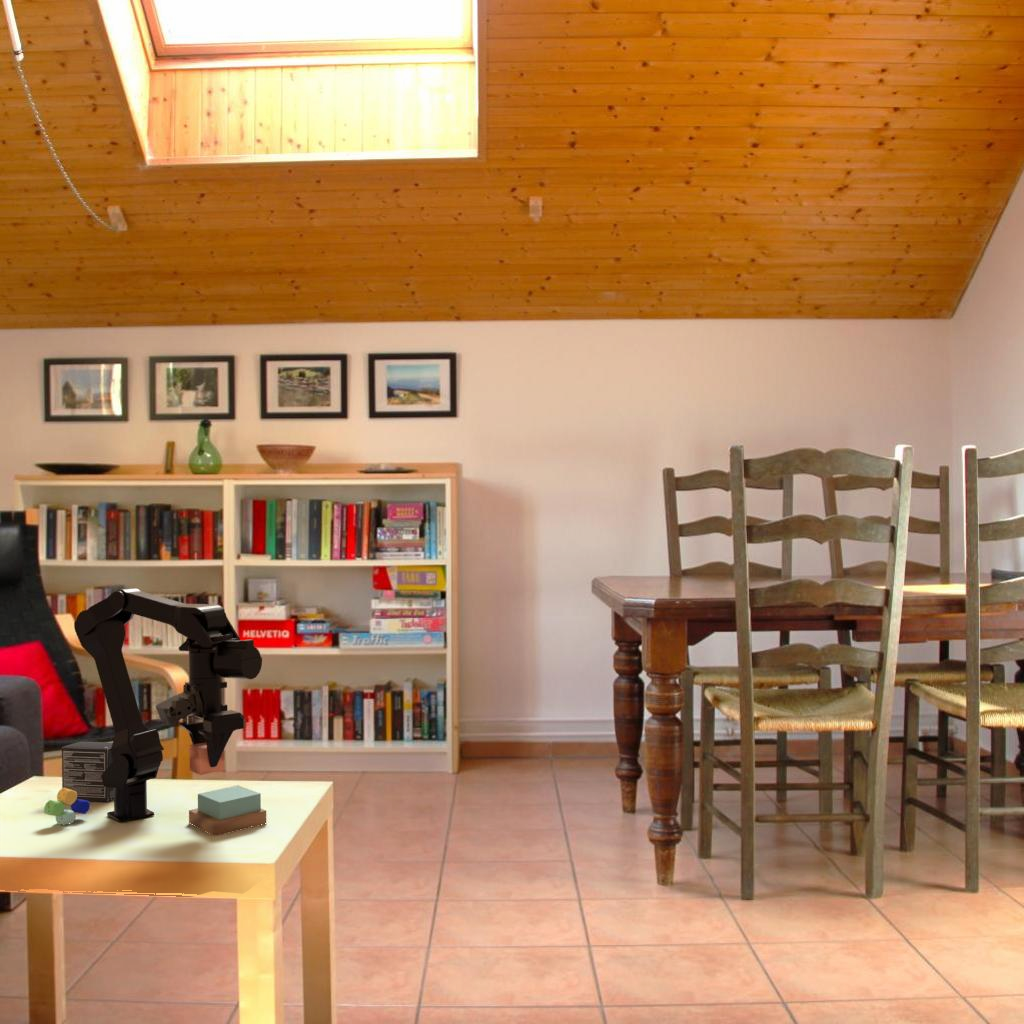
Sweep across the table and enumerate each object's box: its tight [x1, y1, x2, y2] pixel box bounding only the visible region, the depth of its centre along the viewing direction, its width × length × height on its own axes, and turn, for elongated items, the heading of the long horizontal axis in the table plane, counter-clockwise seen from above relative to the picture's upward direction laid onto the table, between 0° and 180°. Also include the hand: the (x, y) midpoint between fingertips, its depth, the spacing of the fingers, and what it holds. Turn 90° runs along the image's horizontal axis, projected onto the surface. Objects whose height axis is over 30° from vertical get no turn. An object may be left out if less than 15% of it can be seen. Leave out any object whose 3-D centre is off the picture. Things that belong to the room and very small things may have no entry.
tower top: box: [197, 785, 262, 820], centre depth 187 cm, size 8×8×3 cm
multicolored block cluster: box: [43, 788, 91, 825], centre depth 189 cm, size 8×3×6 cm, turn 145°
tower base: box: [188, 807, 267, 837], centre depth 187 cm, size 10×10×3 cm
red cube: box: [188, 742, 226, 776], centre depth 185 cm, size 4×4×4 cm
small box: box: [61, 741, 114, 803], centre depth 206 cm, size 11×6×10 cm, turn 77°
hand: (207, 764), depth 185 cm, fingers closed on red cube, 4 cm apart
